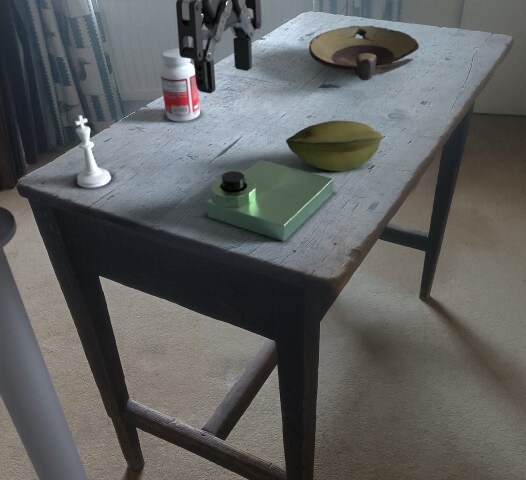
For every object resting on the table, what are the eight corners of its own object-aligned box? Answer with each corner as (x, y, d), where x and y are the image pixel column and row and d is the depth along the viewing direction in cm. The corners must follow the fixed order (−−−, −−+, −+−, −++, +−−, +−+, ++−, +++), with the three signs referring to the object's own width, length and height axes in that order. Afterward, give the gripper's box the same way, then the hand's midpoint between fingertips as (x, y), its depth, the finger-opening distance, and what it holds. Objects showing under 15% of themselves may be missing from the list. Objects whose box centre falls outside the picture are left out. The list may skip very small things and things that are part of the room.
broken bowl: (427, 57, 129) (433, 19, 124) (386, 105, 108) (391, 63, 104) (332, 44, 137) (334, 9, 132) (277, 87, 116) (277, 47, 111)
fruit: (354, 187, 85) (358, 144, 81) (283, 167, 90) (283, 127, 86) (385, 156, 93) (390, 116, 89) (318, 140, 98) (319, 101, 94)
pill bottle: (188, 106, 110) (182, 44, 103) (206, 116, 106) (201, 53, 99) (159, 114, 107) (151, 51, 100) (176, 125, 103) (169, 60, 96)
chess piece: (117, 179, 88) (104, 115, 82) (88, 191, 86) (72, 126, 79) (99, 169, 91) (86, 106, 85) (71, 179, 89) (55, 115, 82)
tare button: (236, 195, 77) (236, 183, 76) (218, 190, 78) (217, 178, 77) (249, 186, 79) (248, 174, 78) (230, 180, 80) (229, 169, 79)
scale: (283, 241, 75) (284, 214, 72) (204, 215, 80) (202, 189, 78) (332, 193, 84) (334, 168, 82) (258, 173, 89) (258, 148, 87)
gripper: (222, -85, 68) (230, 58, 79) (146, -65, 59) (166, 94, 70) (279, -81, 66) (279, 67, 76) (208, -61, 56) (220, 105, 67)
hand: (225, 80), depth 73 cm, fingers open, 8 cm apart
